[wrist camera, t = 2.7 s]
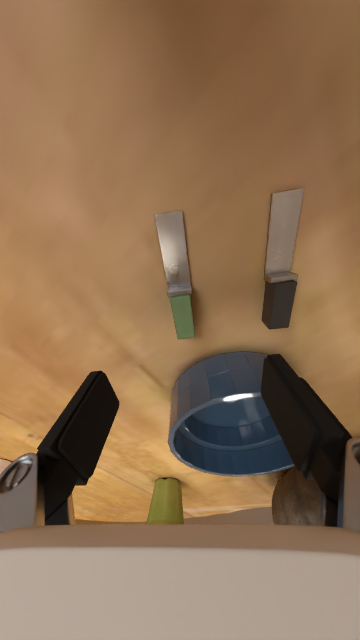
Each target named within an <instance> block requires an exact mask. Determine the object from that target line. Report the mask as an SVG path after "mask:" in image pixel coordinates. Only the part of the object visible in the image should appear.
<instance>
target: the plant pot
mask: <svg viewBox="0 0 360 640" xmlns="http://www.w3.org/2000/svg"><path fill="white" fill-rule="evenodd" d="M146 524H184V519H183V506H182V493H181V484H180V482H179V481H178V480H175V479H172V478H167V479H166V480H164V479H162V478H160V479H158V480H157V481H156V482H155V486H154V491H153V496H152V500H151V505H150V509H149V514H148V518H147V522H146Z"/></svg>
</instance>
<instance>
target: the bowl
mask: <svg viewBox="0 0 360 640" xmlns="http://www.w3.org/2000/svg"><path fill="white" fill-rule="evenodd" d="M267 356H268V355H266V354H262V353H254V352H233V353H224V354H220V355H216V356H213V357H210V358H207V359H204V360H202V361H201V362H199V363H197V364H195V365H193V366H192V367H190V368H189V369H188V370H186V371H185V372H184V373H183V374H182V375H181V376H180V377H179V378H178V380H177V382H176V384H175V386H174V387H173V390H172V397H171V409H170V421H169V434H168V444H169V447H170V450H171V452H172V453H173V454H174V456H175V457H176V458H177V459H178V460H179V461H181V462H182V463H184V464H185V465H187V466H189V467H191V468H194V469H196V470H199V471H202V472H205V473H210V474H215V475H222V476H235V477H236V476H256V475H263V474H270V473H274V472H278V471H282V470H285V469H288V468H291V467H293V466H295V465H294V463H293V461H292V459H291V457H290V455H289V453H288V451H287V449H286V447H285V444H284V442H283V440H282V438H281V436H280V434H279V432H278V430H277V428H276V426H275V423H274V421H273V419H272V417H271V415H270V413H269V411H268V409H267V407H266V405H265V402H264V400H263V398H262V396H261V382H262V373H263V364H264V358H267Z"/></svg>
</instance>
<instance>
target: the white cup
mask: <svg viewBox="0 0 360 640" xmlns="http://www.w3.org/2000/svg"><path fill="white" fill-rule="evenodd" d="M11 463H12V462H10V461H8V460H3V459H0V474H1V473H2V472H3V471H4V469H5V468H6V467H7V466H8V465H10V464H11Z"/></svg>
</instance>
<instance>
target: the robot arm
mask: <svg viewBox="0 0 360 640" xmlns="http://www.w3.org/2000/svg"><path fill="white" fill-rule="evenodd" d="M261 396H262V398H263V400H264V402H265V405H266V407H267V409H268V411H269V413H270V415H271V417H272V419H273V421H274V423H275V426H276V428H277V430H278V432H279V434H280V436H281V438H282V440H283V442H284V444H285V447H286V449H287V451H288V453H289V455H290V457H291V459H292V461H293V463H294V465H295V467H296V469H297V470H298V471H301V472H302V474H303V476H304V478H305V480H313V479H315V481H316V483H317V485H318V487H319V489H320V491H321V492H322V499H321V508H320V518H319V526H308V525H260V524H259V525H258V524H256V525H255V524H252V525H251V524H240V525H239V524H115V525H112V524H111V525H75V516H74V507H73V498H72V491H73V488H74V486H75V485H76V486H77V485H86V484H87V482H88V479H89V478H90V477H91V476H92V475H93V473H94V470H95V468H96V465H97V462H98V460H99V457H100V455H101V452H102V449H103V447H104V444H105V442H106V439H107V437H108V434H109V431H110V429H111V426H112V424H113V421H114V418H115V416H116V413H117V411H118V408H119V400H118V398H117V396H116V394H115V392H114V390H113V388H112V386H111V384H110V382H109V380H108V378H107V376H106V374H105V373H103V372H102V371H94V372H90V373H89V375H88V376H87V378H86V379H85V381H84V382H83V383H82V385H81V386H80V388H79V389H78V391H77V392H76V393H75V395H74V396H73V398H72V399H71V401H70V402H69V403H68V405H67V406H66V408H65V409H64V411H63V412H62V414H61V415H60V416H59V418H58V419H57V421H56V422H55V424H54V425H53V426H52V428H51V429H50V431H49V432H48V434H47V435H46V436H45V438H44V439H43V441H42V442H41V444H40V445H39V447H38V448H37V449H38V450H39V451H38V452H37V454H34V453H27V454H24V455H22V456H20V457H19V458H17V459H16V460H14V461H13V462H12V463H11V464H10V465H8V466H7V467H6V468H5V469H4V471H3V472H2V473H1V474H0V640H360V438H358V437H356V438H353V437H352V436H351V435H350V434H349V432H348V431H347V430H346V429H345V428H344V426H343V425H342V424H341V423H340V422H339V420H338V419H337V418H336V417H335V416H334V414H333V413H332V412H331V411H330V410H329V408H328V407H327V406H326V405H325V404H324V402H323V401H322V400H321V399H320V398H319V396H318V395H317V394H316V393H315V392H314V390H313V389H312V388H311V387H310V386H309V384H308V383H307V382H306V381H305V380H304V379H303V378H299V377H298V376H297V374H296V373H295V372H294V371H293V369H292V368H291V367H290V366H289V364H288V363H287V362H286V361H285V359H284V358H283V357H282V356H281V355H280V354H272V355H268V356H267V358H264V364H263V373H262V382H261Z"/></svg>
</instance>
